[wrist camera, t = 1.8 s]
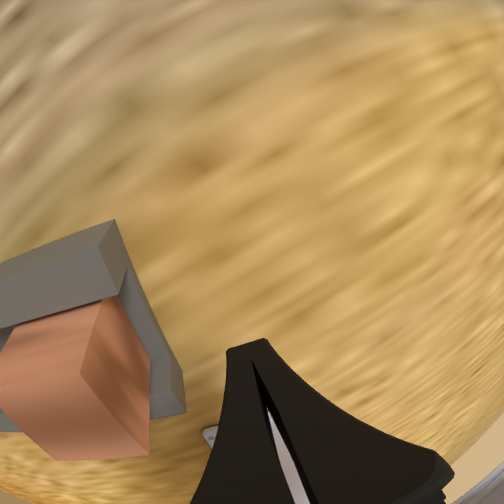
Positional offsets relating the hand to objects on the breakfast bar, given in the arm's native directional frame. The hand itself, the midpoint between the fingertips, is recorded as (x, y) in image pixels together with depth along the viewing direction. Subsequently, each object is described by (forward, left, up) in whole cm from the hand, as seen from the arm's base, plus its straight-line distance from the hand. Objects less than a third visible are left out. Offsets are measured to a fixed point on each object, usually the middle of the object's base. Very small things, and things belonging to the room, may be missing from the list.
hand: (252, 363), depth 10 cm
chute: (0, +13, -6) cm, 14 cm away
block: (0, +8, -5) cm, 9 cm away
